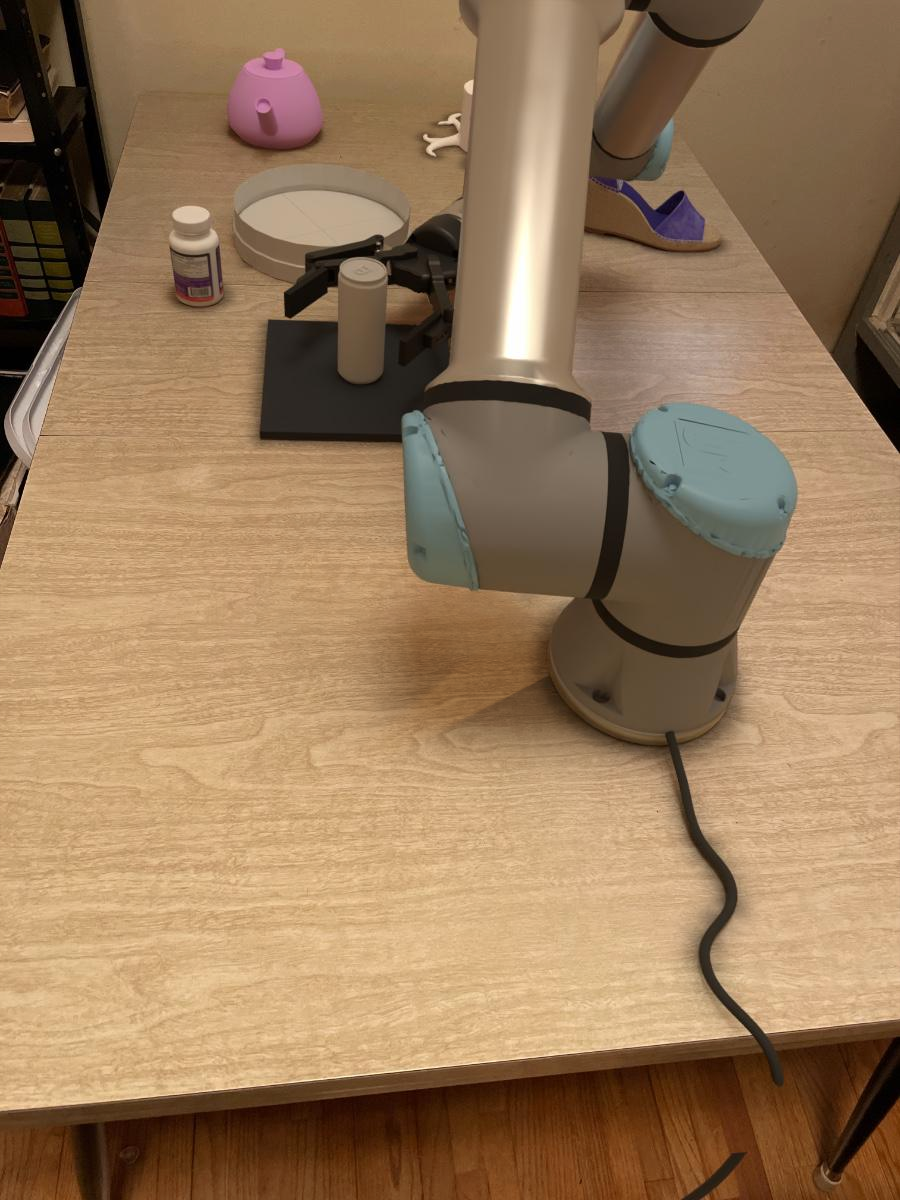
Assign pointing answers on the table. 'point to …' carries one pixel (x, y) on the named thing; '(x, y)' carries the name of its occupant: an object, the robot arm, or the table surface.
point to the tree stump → (462, 127)
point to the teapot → (274, 103)
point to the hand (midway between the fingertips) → (343, 329)
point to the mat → (339, 385)
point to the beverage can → (361, 319)
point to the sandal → (647, 217)
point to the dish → (313, 215)
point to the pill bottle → (195, 257)
